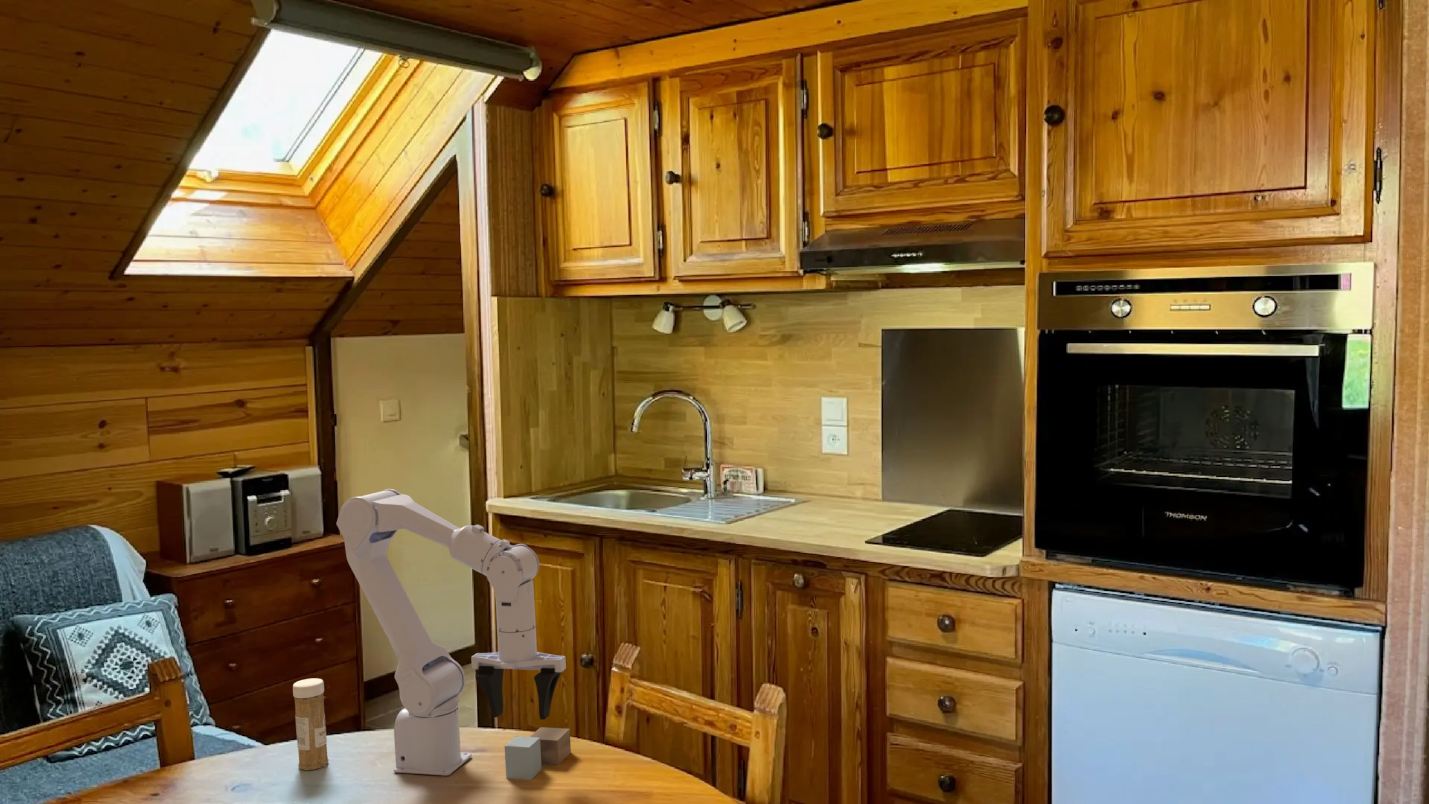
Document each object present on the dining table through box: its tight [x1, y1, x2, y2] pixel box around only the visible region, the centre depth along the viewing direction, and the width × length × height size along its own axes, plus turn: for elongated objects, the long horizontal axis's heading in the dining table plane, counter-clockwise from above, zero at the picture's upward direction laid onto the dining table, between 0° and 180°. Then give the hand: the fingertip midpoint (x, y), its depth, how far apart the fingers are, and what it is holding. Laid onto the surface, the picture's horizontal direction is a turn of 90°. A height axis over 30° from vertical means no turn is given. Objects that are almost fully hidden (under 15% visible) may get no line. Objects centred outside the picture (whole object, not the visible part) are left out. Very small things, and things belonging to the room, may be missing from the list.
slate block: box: [504, 736, 542, 781], centre depth 164 cm, size 4×4×5 cm
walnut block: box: [529, 726, 572, 766], centre depth 170 cm, size 5×5×4 cm
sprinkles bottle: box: [292, 677, 329, 771], centre depth 171 cm, size 5×5×14 cm
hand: (521, 716), depth 164 cm, fingers open, 7 cm apart
